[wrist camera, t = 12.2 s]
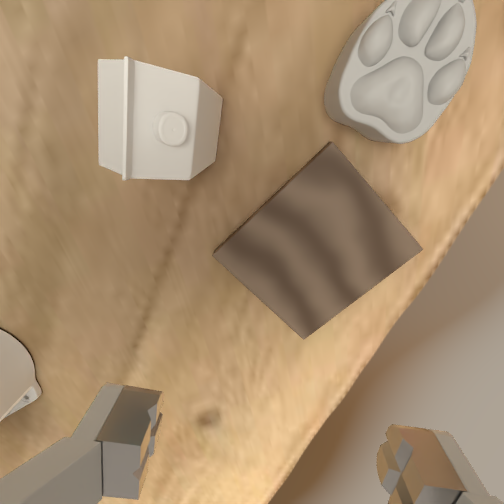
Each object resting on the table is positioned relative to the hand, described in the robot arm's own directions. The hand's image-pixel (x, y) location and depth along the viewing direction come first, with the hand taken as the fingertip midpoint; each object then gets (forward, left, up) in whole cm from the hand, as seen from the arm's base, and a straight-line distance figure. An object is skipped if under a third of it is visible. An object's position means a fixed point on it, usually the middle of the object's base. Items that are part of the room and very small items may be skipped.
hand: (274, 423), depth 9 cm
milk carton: (-1, +12, -34) cm, 36 cm away
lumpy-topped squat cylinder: (+19, 0, -34) cm, 38 cm away
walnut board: (0, -10, -33) cm, 35 cm away
